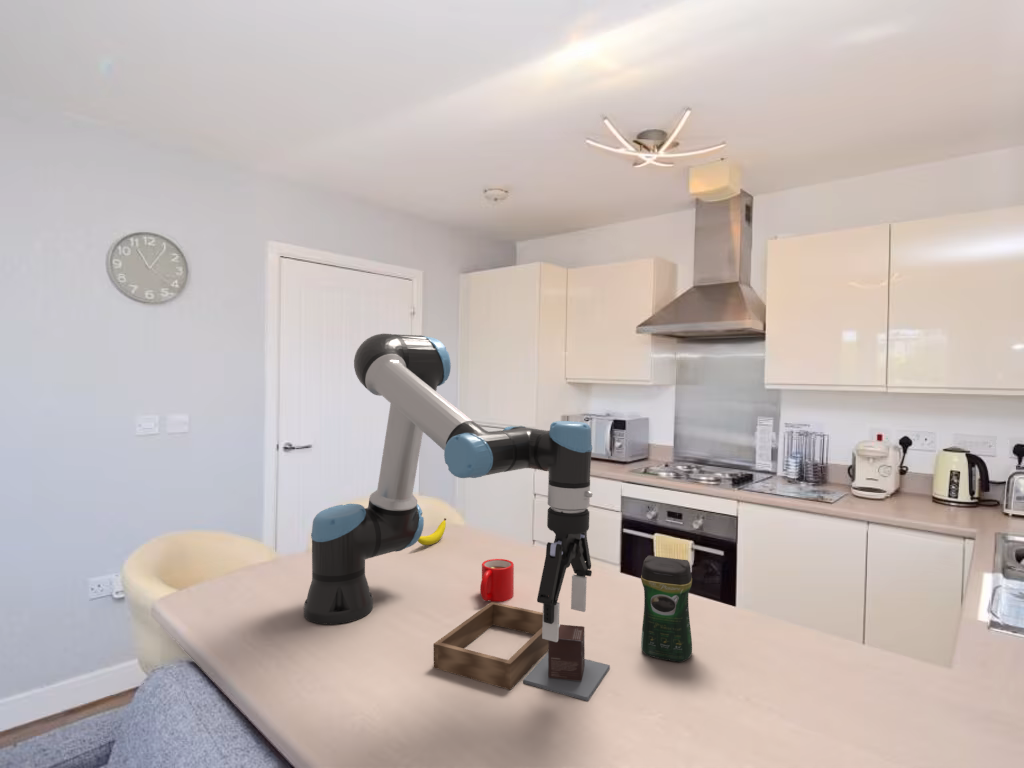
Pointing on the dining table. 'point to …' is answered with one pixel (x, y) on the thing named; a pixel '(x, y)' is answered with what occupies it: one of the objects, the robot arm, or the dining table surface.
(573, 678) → the box
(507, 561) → the mug
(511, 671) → the walnut crate
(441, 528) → the banana
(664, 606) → the coffee jar
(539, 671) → the slate mat
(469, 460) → the robot arm
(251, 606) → the dining table surface
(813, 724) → the dining table surface
